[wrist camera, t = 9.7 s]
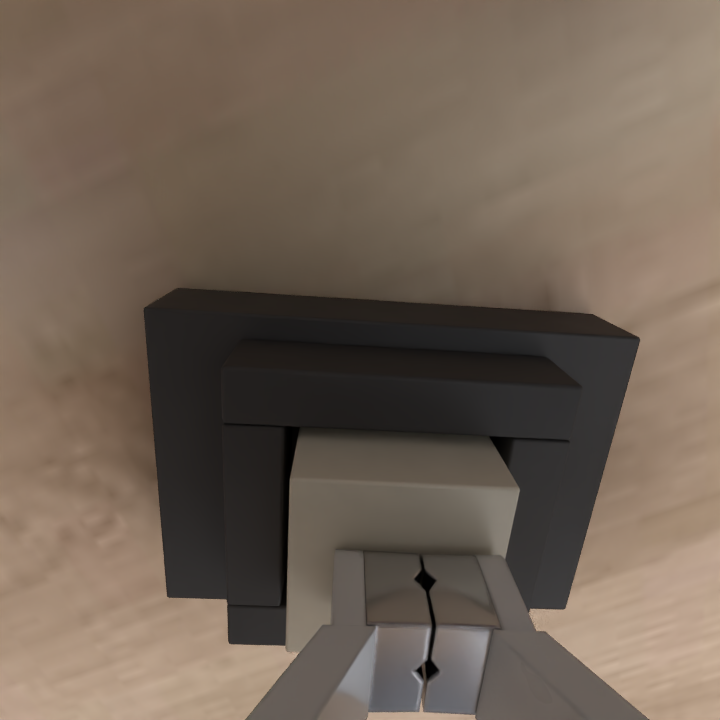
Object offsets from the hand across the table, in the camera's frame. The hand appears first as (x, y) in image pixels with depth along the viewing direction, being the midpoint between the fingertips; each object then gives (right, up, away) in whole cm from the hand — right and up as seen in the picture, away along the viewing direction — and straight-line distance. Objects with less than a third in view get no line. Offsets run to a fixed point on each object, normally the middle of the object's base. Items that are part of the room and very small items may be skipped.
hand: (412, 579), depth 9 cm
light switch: (0, +2, +5) cm, 5 cm away
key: (0, +1, +2) cm, 2 cm away
